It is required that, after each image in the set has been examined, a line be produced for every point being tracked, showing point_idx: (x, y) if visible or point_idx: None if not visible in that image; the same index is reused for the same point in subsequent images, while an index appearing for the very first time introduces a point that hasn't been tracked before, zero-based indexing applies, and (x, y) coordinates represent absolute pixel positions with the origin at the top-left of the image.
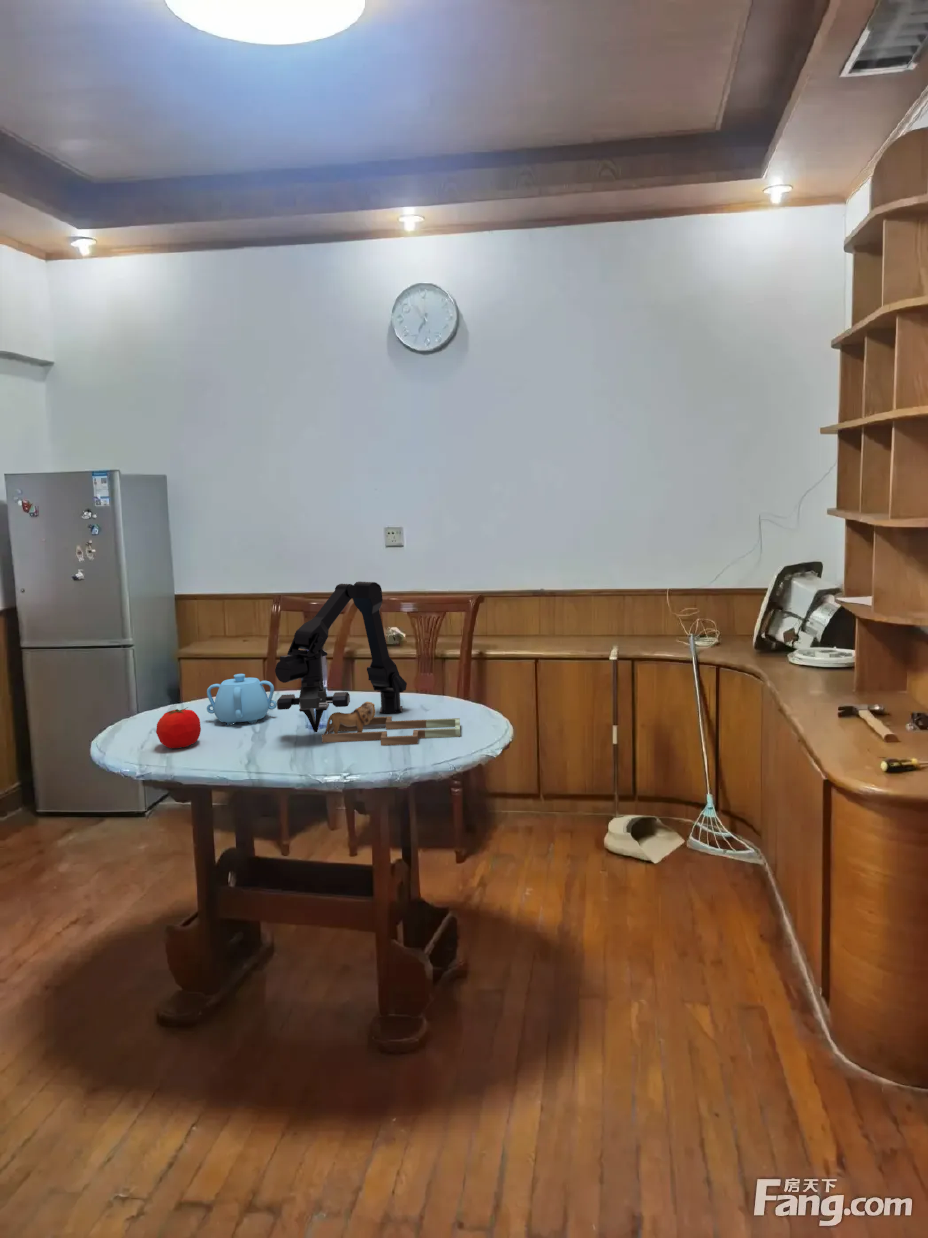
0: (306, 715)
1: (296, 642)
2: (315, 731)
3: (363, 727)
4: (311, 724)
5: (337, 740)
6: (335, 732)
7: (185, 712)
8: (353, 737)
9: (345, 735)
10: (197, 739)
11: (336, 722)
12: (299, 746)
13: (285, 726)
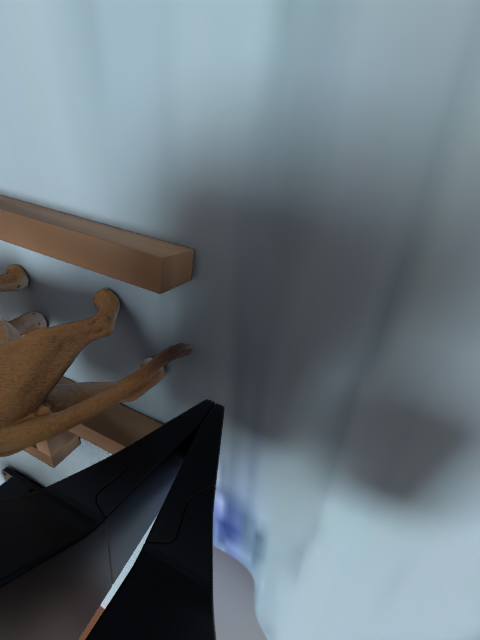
0: (209, 580)
1: None
2: (214, 404)
3: None
4: (213, 452)
5: (100, 226)
6: (99, 321)
7: None
8: (5, 202)
9: (25, 213)
10: None
11: (16, 349)
12: (378, 208)
13: (351, 605)
